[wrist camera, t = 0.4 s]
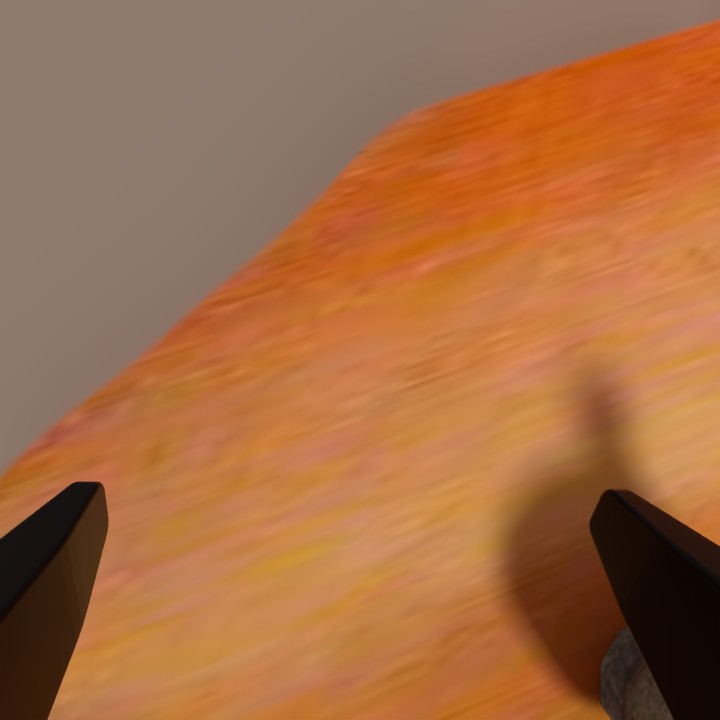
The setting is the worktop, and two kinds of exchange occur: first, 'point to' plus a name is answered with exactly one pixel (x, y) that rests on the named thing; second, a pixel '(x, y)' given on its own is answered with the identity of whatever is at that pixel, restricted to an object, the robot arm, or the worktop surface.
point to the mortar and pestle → (629, 683)
